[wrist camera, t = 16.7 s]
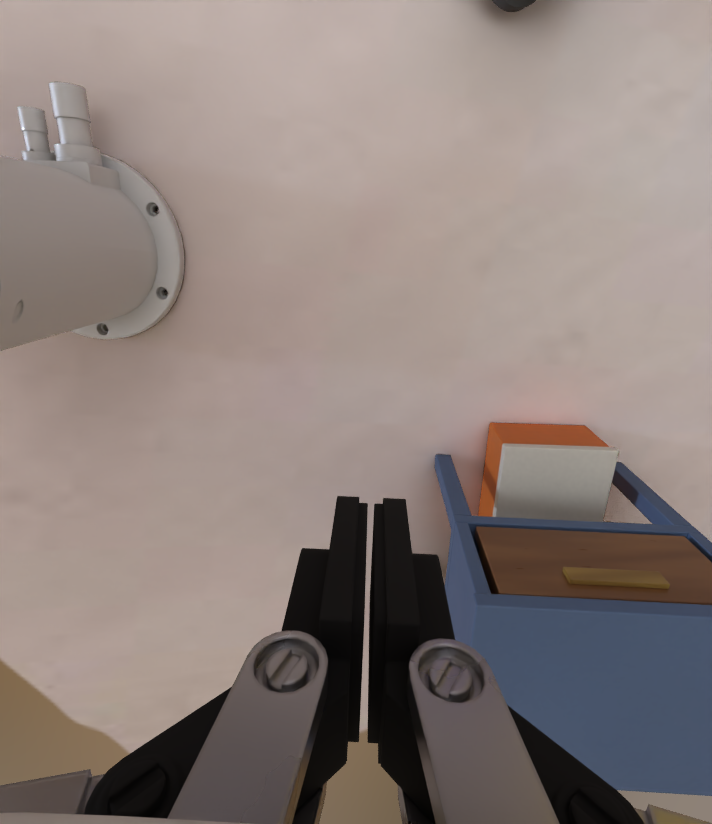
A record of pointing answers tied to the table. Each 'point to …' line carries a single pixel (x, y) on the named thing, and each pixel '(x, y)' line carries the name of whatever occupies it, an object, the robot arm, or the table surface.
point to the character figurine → (513, 4)
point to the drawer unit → (594, 653)
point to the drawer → (594, 565)
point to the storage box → (546, 472)
